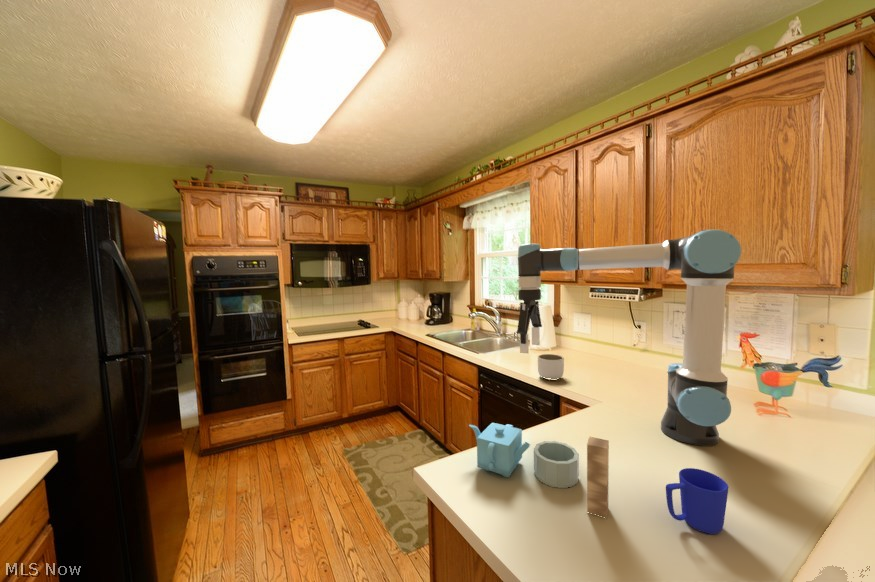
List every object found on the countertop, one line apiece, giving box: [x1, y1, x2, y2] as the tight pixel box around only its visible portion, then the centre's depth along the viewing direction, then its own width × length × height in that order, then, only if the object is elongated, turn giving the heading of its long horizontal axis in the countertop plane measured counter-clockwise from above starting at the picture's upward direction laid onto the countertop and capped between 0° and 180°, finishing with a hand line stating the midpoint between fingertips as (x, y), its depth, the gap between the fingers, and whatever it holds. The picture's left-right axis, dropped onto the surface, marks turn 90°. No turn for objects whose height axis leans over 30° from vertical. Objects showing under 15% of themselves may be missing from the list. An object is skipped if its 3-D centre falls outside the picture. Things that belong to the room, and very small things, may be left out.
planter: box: [537, 353, 565, 379], centre depth 168 cm, size 12×12×11 cm
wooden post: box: [586, 435, 610, 519], centre depth 76 cm, size 4×4×16 cm
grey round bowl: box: [533, 440, 580, 489], centre depth 89 cm, size 11×11×6 cm
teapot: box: [468, 422, 531, 478], centre depth 94 cm, size 16×18×11 cm
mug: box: [665, 467, 729, 535], centre depth 71 cm, size 8×12×10 cm
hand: (530, 348), depth 118 cm, fingers open, 13 cm apart
